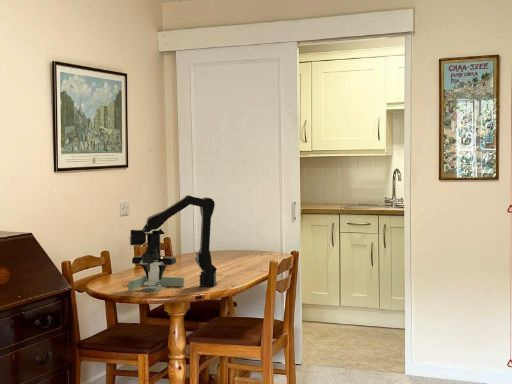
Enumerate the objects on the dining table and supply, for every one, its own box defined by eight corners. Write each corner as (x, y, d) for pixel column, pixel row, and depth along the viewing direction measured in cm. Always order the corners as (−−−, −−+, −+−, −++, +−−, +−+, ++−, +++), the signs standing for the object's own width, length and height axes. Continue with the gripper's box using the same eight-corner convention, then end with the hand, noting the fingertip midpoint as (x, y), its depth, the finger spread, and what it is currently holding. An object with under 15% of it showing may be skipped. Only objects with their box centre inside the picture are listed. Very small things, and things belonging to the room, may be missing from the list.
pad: (167, 286, 302) (167, 285, 302) (157, 291, 292) (157, 290, 292) (150, 285, 305) (150, 285, 305) (140, 290, 294) (140, 289, 294)
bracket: (149, 282, 299) (149, 271, 299) (160, 283, 298) (159, 271, 298) (143, 285, 293) (143, 273, 293) (154, 285, 292) (154, 274, 292)
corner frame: (184, 286, 303) (184, 277, 303) (170, 293, 288) (170, 284, 287) (143, 284, 308) (143, 275, 308) (128, 291, 293) (128, 281, 292)
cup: (147, 283, 309) (147, 260, 309) (138, 280, 317) (137, 257, 317) (167, 281, 315) (166, 258, 315) (157, 278, 323) (156, 255, 323)
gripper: (126, 246, 292) (126, 282, 293) (166, 247, 287) (166, 283, 288) (137, 243, 303) (137, 277, 303) (176, 244, 298) (176, 279, 299)
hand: (154, 279), depth 298 cm, fingers closed on bracket, 5 cm apart
